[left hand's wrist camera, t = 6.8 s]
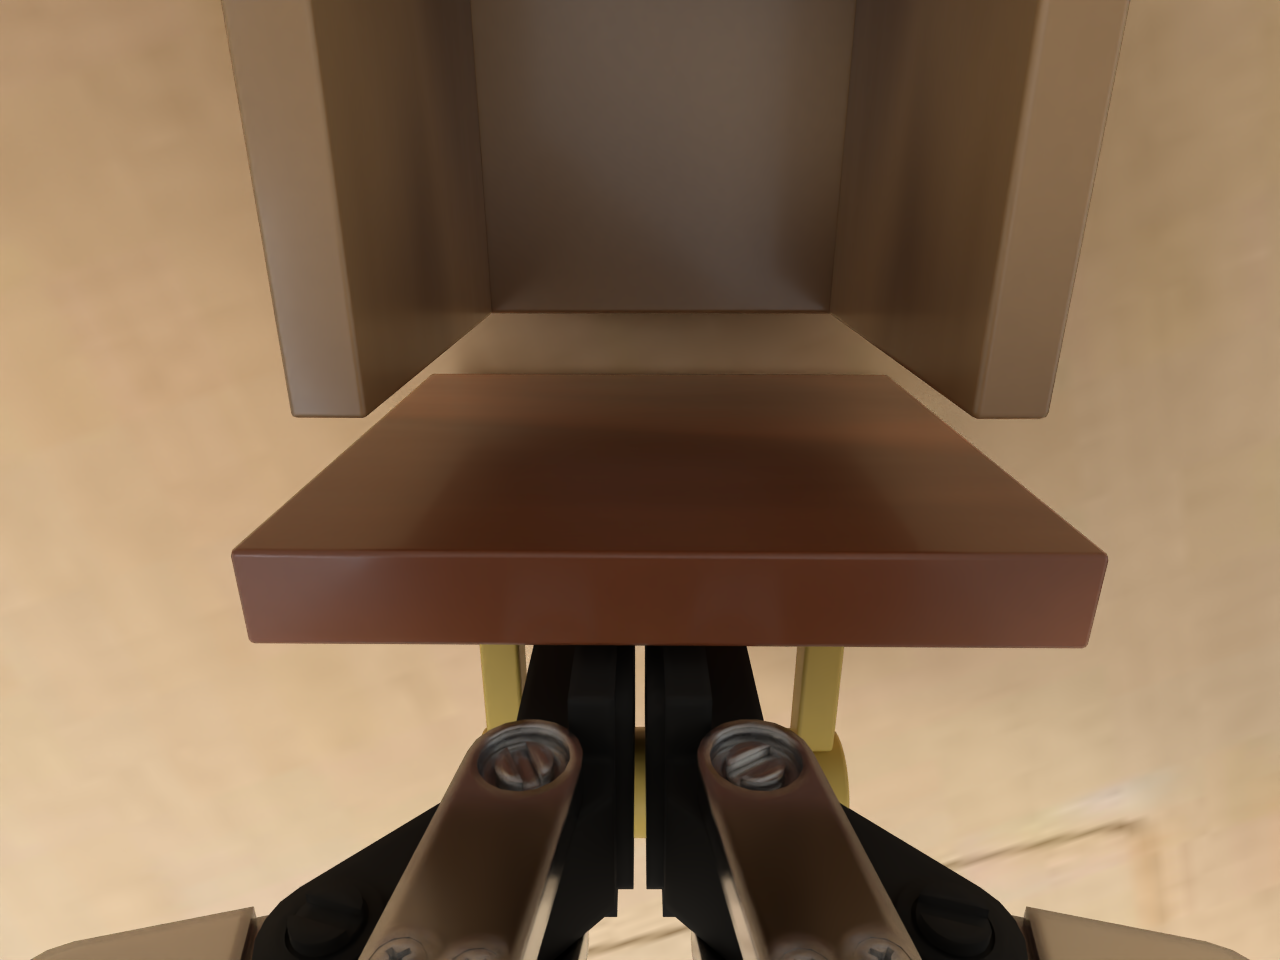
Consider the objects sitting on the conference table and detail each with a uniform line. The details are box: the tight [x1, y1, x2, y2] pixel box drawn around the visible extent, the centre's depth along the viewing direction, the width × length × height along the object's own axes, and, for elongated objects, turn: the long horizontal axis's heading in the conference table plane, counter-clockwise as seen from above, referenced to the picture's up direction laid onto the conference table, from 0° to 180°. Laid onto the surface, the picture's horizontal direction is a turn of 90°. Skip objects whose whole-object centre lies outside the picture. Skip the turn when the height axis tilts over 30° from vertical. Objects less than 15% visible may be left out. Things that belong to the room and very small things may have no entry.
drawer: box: [221, 0, 1130, 838], centre depth 10 cm, size 23×10×8 cm, turn 0°
